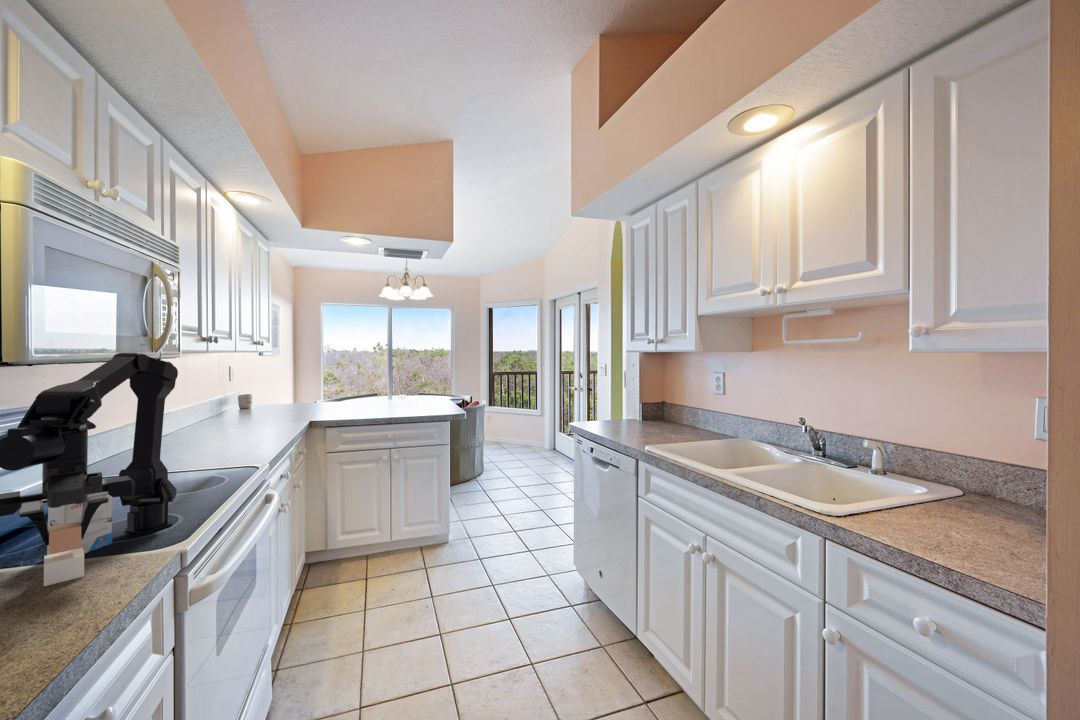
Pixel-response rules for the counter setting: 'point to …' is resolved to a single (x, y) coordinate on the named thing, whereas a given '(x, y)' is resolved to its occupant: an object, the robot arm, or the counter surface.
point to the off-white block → (63, 566)
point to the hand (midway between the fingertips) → (64, 541)
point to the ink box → (97, 529)
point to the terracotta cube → (64, 537)
